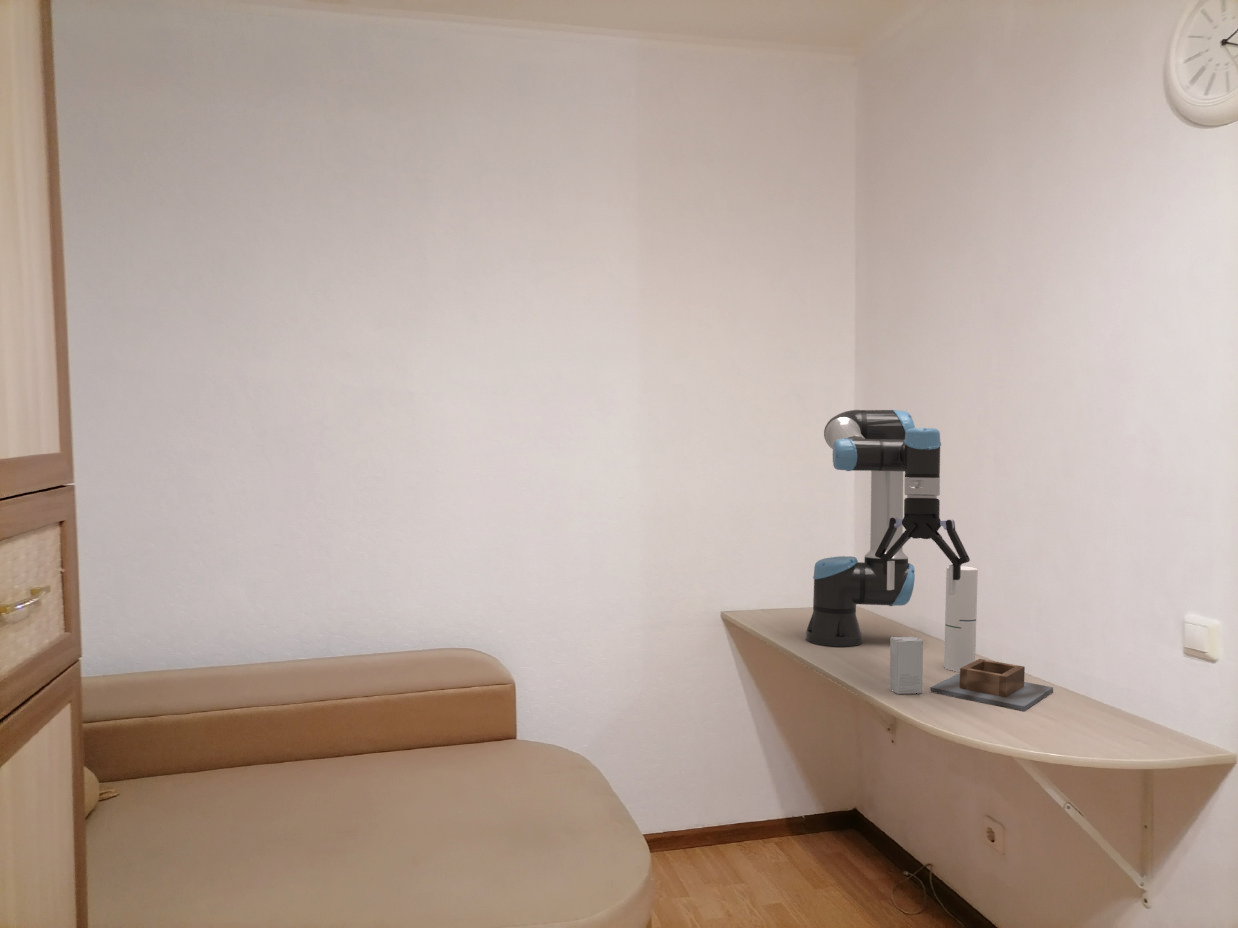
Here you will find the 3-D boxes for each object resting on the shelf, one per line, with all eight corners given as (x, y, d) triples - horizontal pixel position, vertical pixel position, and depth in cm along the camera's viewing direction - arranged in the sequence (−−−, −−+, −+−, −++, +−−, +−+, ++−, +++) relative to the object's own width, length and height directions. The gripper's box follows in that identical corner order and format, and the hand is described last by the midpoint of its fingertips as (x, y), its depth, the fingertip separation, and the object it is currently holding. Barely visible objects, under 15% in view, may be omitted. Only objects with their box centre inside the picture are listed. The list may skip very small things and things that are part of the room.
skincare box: (914, 688, 199) (915, 635, 199) (923, 694, 195) (924, 640, 195) (888, 689, 199) (889, 635, 198) (896, 694, 194) (897, 640, 194)
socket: (930, 691, 197) (930, 667, 197) (964, 674, 212) (964, 652, 212) (1024, 711, 184) (1024, 684, 184) (1053, 691, 199) (1053, 667, 198)
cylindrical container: (977, 673, 213) (980, 570, 213) (946, 671, 215) (949, 569, 214) (972, 665, 220) (974, 566, 220) (941, 664, 222) (944, 565, 221)
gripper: (861, 495, 201) (860, 588, 201) (975, 498, 187) (974, 598, 186) (873, 496, 208) (872, 586, 207) (984, 498, 193) (983, 595, 192)
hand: (920, 592), depth 196 cm, fingers open, 13 cm apart
